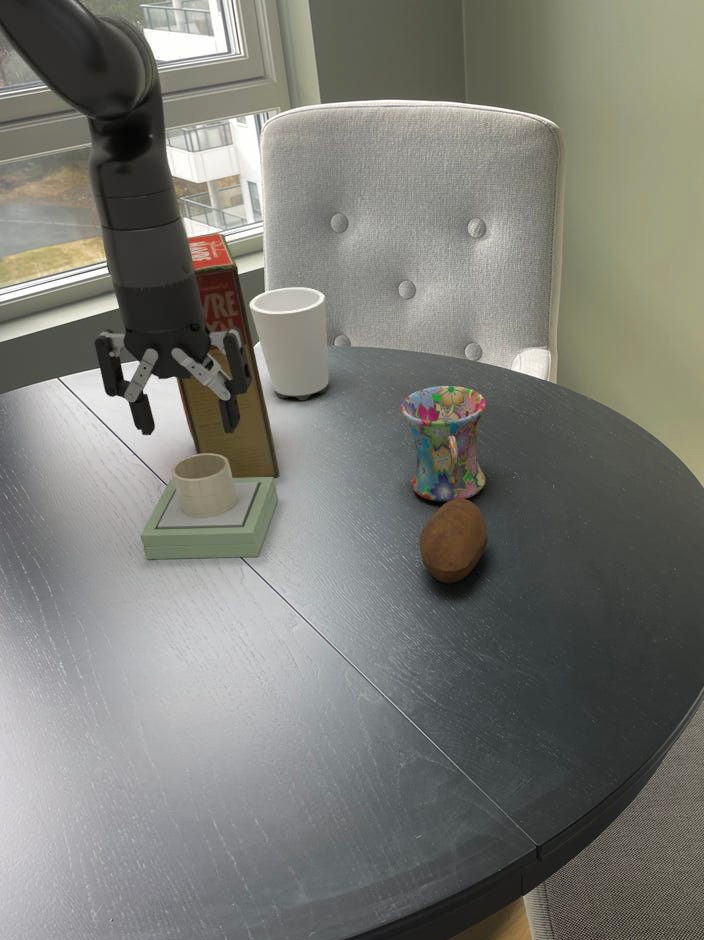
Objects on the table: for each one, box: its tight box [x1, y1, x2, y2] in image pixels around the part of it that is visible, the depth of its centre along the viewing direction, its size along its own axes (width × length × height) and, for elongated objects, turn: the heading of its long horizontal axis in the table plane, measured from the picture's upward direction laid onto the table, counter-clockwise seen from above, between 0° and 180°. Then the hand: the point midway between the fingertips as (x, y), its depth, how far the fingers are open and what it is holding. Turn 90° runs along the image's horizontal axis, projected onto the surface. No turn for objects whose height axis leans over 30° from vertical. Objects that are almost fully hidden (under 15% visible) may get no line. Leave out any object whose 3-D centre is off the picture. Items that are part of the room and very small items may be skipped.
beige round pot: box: [170, 453, 237, 518], centre depth 104 cm, size 6×6×4 cm
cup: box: [249, 286, 330, 401], centre depth 132 cm, size 10×10×13 cm
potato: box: [419, 498, 488, 584], centre depth 97 cm, size 7×12×7 cm, turn 175°
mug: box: [400, 385, 487, 503], centre depth 108 cm, size 12×9×11 cm
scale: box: [140, 477, 279, 560], centre depth 107 cm, size 12×12×3 cm
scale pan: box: [158, 482, 259, 529], centre depth 106 cm, size 9×9×1 cm
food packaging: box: [175, 232, 280, 479], centre depth 112 cm, size 13×9×25 cm
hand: (189, 431), depth 100 cm, fingers open, 8 cm apart
